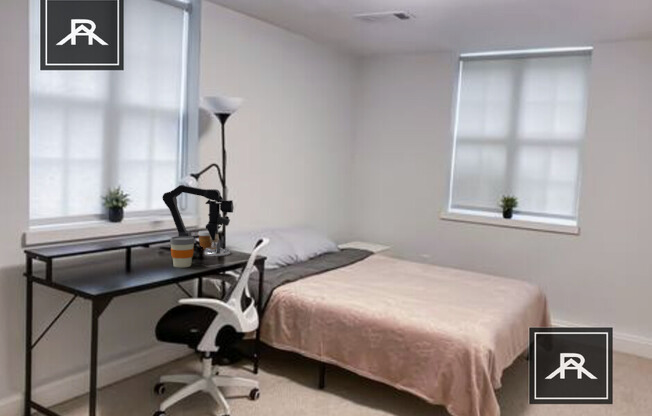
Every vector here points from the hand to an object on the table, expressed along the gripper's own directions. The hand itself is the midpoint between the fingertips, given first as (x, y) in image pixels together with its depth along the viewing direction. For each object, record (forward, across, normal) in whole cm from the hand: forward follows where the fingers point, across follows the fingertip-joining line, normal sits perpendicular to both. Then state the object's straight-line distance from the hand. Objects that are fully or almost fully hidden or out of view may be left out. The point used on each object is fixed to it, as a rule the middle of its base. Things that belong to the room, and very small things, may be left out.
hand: (214, 239), depth 295 cm
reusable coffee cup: (+12, -14, +14) cm, 24 cm away
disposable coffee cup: (+12, +30, +11) cm, 34 cm away
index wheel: (+11, +15, +1) cm, 18 cm away
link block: (+1, 0, 0) cm, 1 cm away
